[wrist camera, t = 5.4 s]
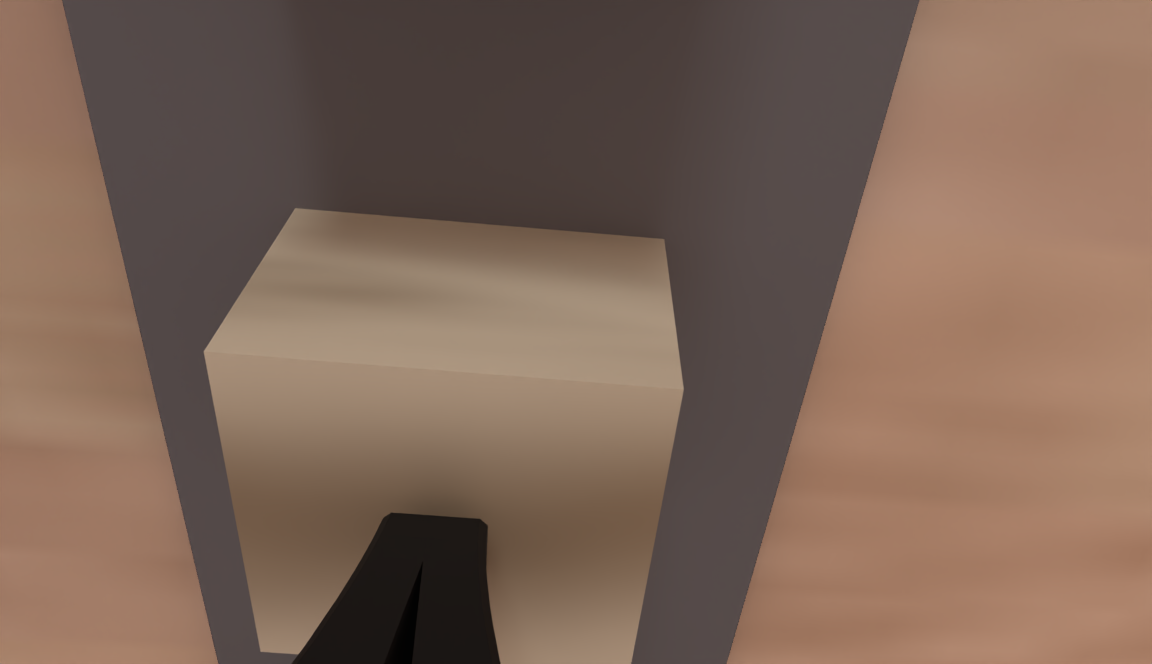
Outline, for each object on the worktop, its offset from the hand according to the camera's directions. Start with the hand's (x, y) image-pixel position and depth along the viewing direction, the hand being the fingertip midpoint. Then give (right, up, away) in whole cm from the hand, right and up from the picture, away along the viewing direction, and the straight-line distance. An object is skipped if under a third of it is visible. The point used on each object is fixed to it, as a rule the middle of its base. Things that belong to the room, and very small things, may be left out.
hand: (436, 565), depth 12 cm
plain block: (0, +3, +4) cm, 5 cm away
